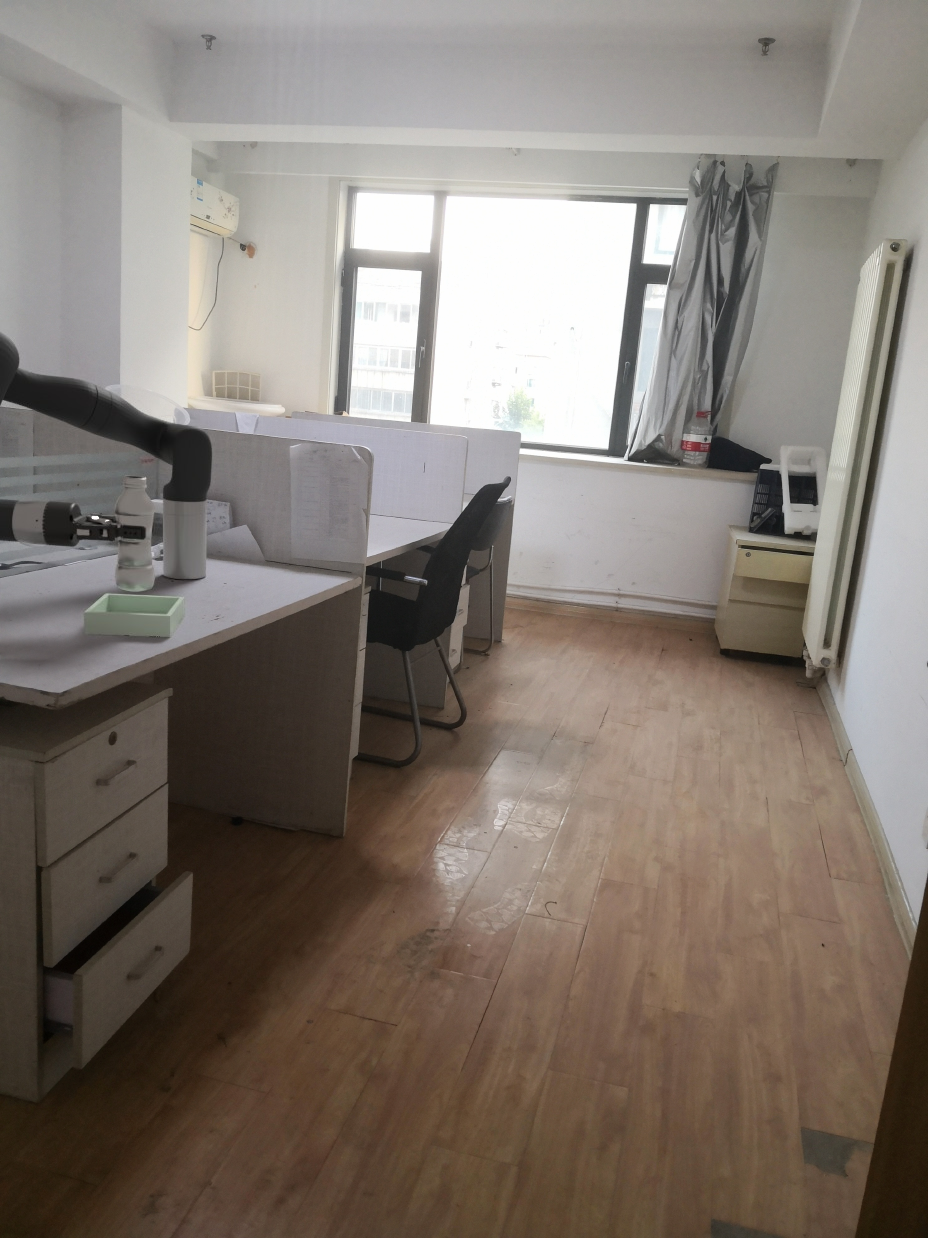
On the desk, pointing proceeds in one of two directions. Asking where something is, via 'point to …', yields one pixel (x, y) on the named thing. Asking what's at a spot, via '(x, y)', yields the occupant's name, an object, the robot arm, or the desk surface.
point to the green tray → (134, 615)
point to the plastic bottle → (135, 553)
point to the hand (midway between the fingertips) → (149, 530)
